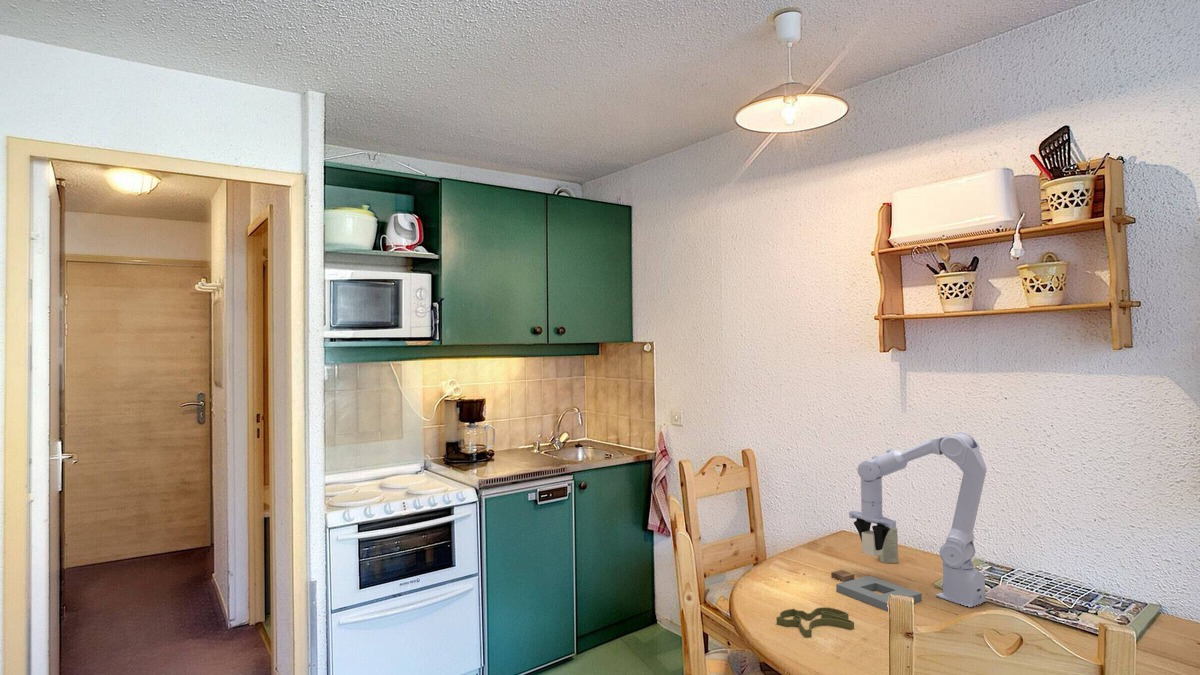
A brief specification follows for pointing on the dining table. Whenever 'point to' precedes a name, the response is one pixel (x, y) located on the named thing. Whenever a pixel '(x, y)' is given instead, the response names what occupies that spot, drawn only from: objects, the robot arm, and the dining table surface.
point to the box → (890, 548)
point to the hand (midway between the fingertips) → (872, 547)
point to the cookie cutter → (827, 619)
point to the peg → (869, 544)
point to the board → (866, 585)
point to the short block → (842, 575)
